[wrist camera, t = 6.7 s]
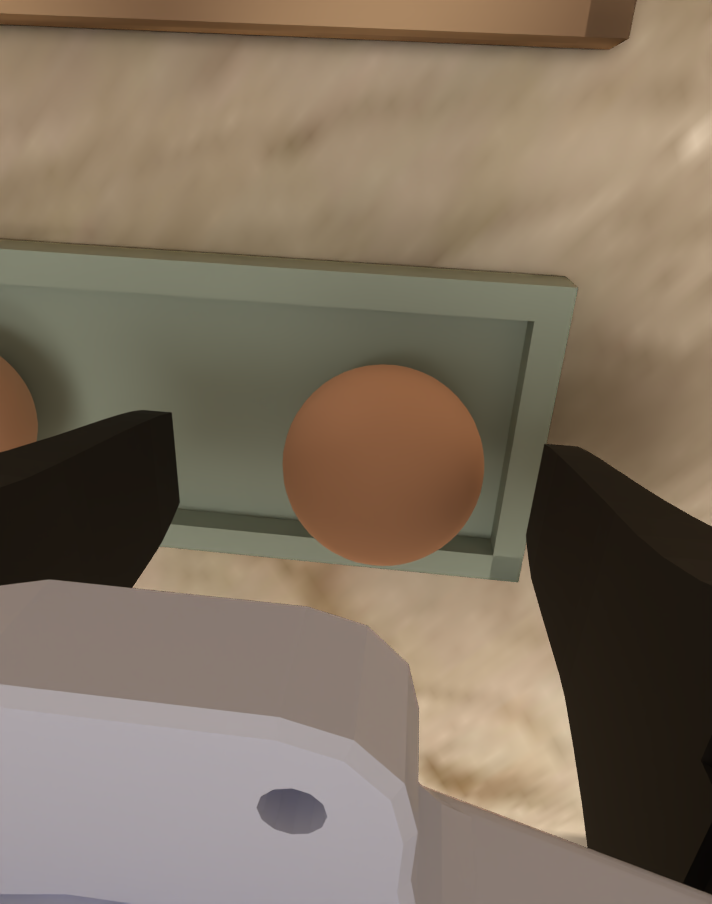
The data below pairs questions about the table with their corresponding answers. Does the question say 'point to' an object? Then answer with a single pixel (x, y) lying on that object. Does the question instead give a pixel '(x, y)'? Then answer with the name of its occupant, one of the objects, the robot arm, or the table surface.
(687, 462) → the table surface
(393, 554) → the terracotta ball
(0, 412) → the terracotta ball
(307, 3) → the trough walnut
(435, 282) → the trough green
